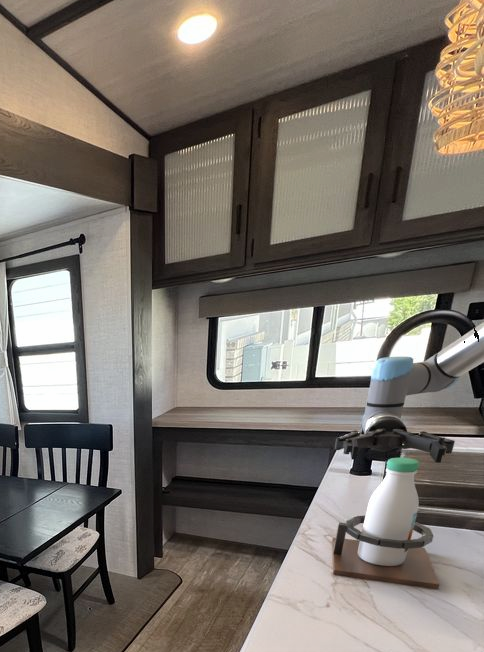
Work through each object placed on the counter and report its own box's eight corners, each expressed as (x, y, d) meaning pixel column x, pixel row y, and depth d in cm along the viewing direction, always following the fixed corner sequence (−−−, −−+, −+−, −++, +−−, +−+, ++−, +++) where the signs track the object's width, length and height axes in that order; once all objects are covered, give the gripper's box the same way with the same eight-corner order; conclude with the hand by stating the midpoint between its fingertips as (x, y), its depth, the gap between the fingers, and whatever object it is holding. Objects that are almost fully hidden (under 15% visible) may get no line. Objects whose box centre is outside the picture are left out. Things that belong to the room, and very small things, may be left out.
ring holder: (423, 551, 95) (433, 517, 92) (438, 589, 83) (450, 551, 80) (331, 541, 103) (338, 509, 100) (333, 574, 90) (340, 538, 87)
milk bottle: (395, 571, 88) (421, 468, 80) (350, 558, 94) (370, 461, 85) (410, 557, 92) (437, 458, 84) (366, 546, 98) (387, 452, 89)
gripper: (449, 449, 105) (473, 476, 88) (320, 446, 117) (320, 469, 100) (458, 415, 102) (484, 436, 85) (325, 415, 114) (325, 434, 97)
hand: (395, 454), depth 93 cm, fingers open, 13 cm apart
